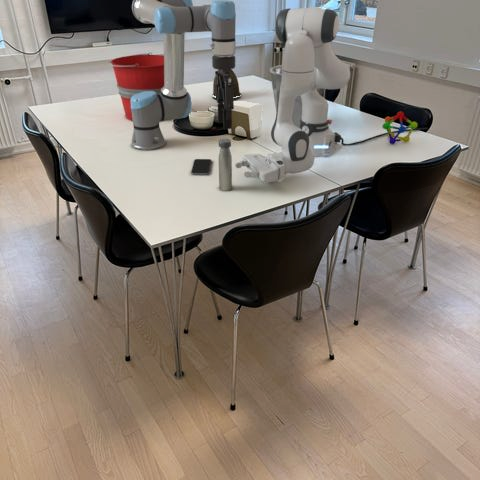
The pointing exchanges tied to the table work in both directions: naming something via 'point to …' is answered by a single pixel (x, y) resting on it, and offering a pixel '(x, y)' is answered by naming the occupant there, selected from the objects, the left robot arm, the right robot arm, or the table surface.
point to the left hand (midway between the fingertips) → (224, 125)
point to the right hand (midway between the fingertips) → (240, 170)
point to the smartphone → (201, 166)
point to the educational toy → (398, 128)
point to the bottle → (225, 169)
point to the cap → (224, 143)
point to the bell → (235, 85)
